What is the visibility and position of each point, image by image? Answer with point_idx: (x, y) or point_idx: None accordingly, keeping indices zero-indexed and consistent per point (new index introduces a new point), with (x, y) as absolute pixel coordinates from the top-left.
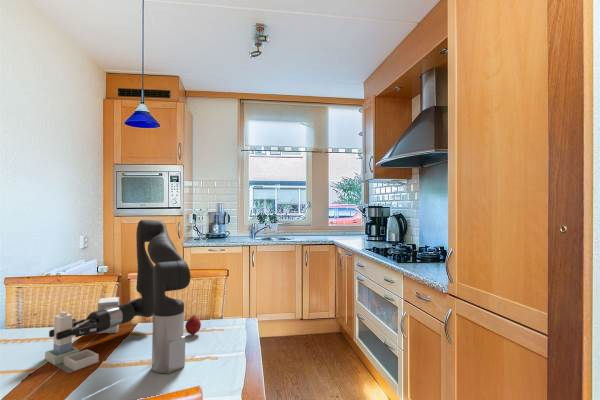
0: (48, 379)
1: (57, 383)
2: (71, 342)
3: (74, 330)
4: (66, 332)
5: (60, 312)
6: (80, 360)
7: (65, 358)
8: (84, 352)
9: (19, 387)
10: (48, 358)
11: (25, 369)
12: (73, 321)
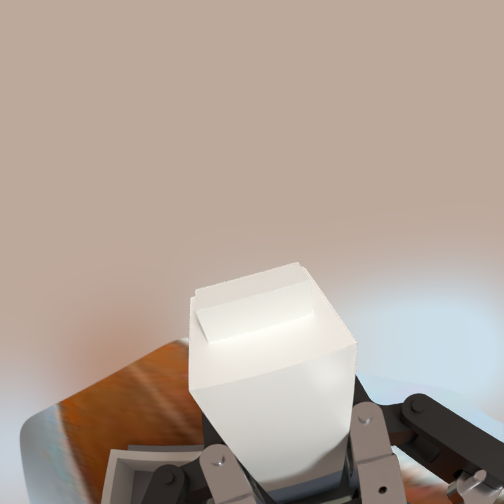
0: (162, 408)
1: (118, 412)
2: (267, 491)
3: (196, 469)
4: (203, 420)
5: (282, 268)
6: (108, 468)
7: (185, 452)
8: None
9: (185, 356)
10: None
11: None
12: (472, 478)
